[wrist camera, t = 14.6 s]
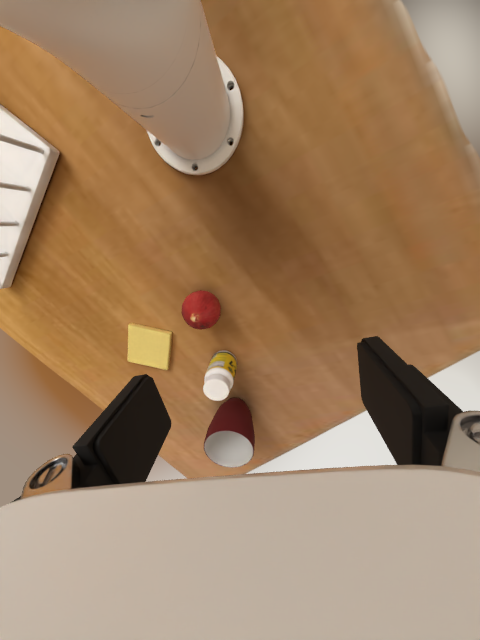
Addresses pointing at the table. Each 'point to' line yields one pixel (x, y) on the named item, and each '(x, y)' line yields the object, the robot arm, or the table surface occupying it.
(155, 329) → the sticky note pad
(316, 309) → the table surface
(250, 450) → the mug
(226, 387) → the supplement bottle
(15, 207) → the file sorter
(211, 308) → the onion
